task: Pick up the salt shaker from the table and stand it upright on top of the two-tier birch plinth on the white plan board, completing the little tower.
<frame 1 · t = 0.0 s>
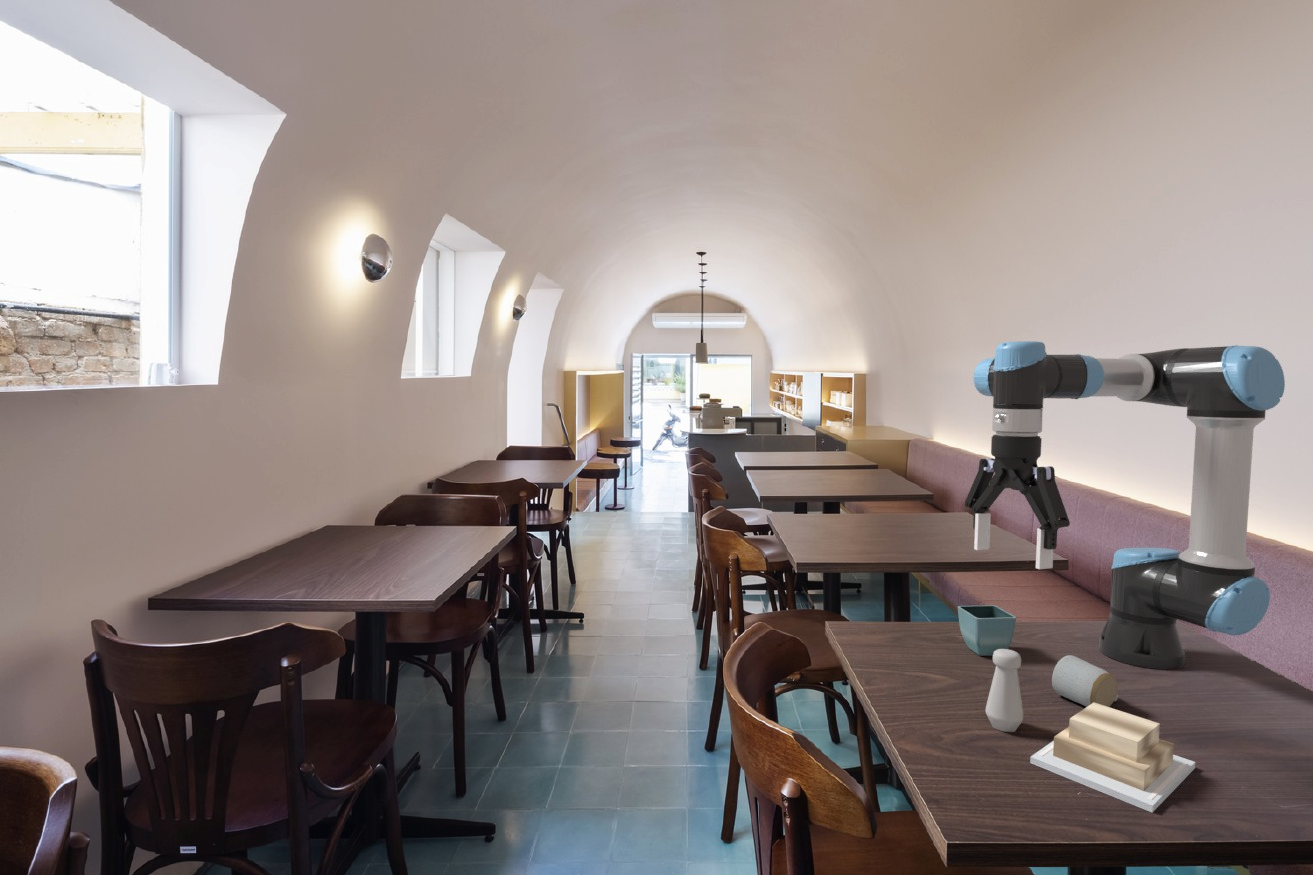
hand: (1011, 558, 122), 28 cm above the table, tool pointing down, fingers open, 13 cm apart
plan board: (1112, 765, 108), on the table
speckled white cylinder: (1087, 702, 130), on the table
salt shaker: (1003, 727, 120), on the table
flower pot: (984, 652, 154), on the table
birch plinth: (1113, 740, 108), on the plan board, point 4 cm above the table
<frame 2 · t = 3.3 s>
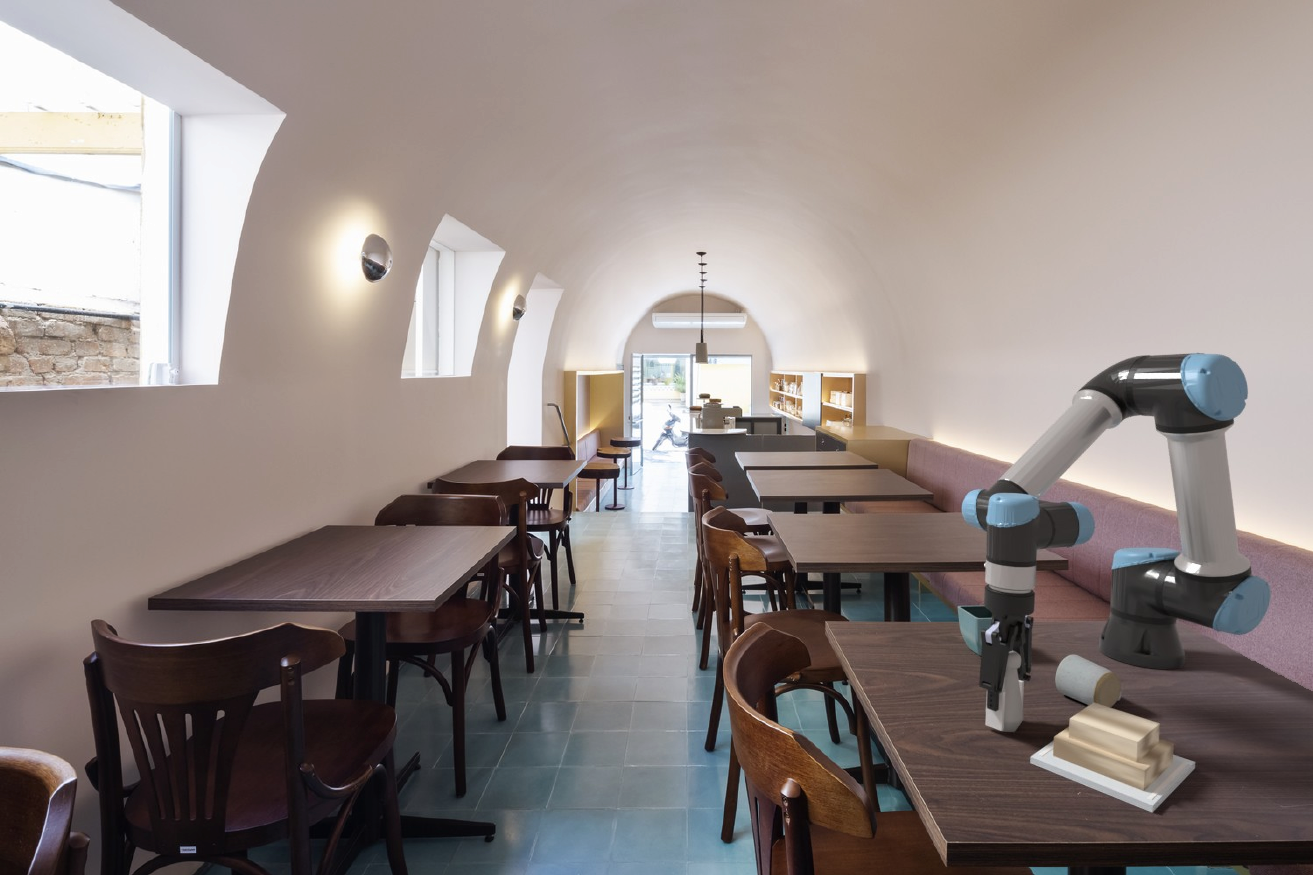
hand: (1004, 721, 120), 1 cm above the table, tool pointing down, fingers closed on salt shaker, 6 cm apart
salt shaker: (1003, 727, 120), on the table, touching gripper
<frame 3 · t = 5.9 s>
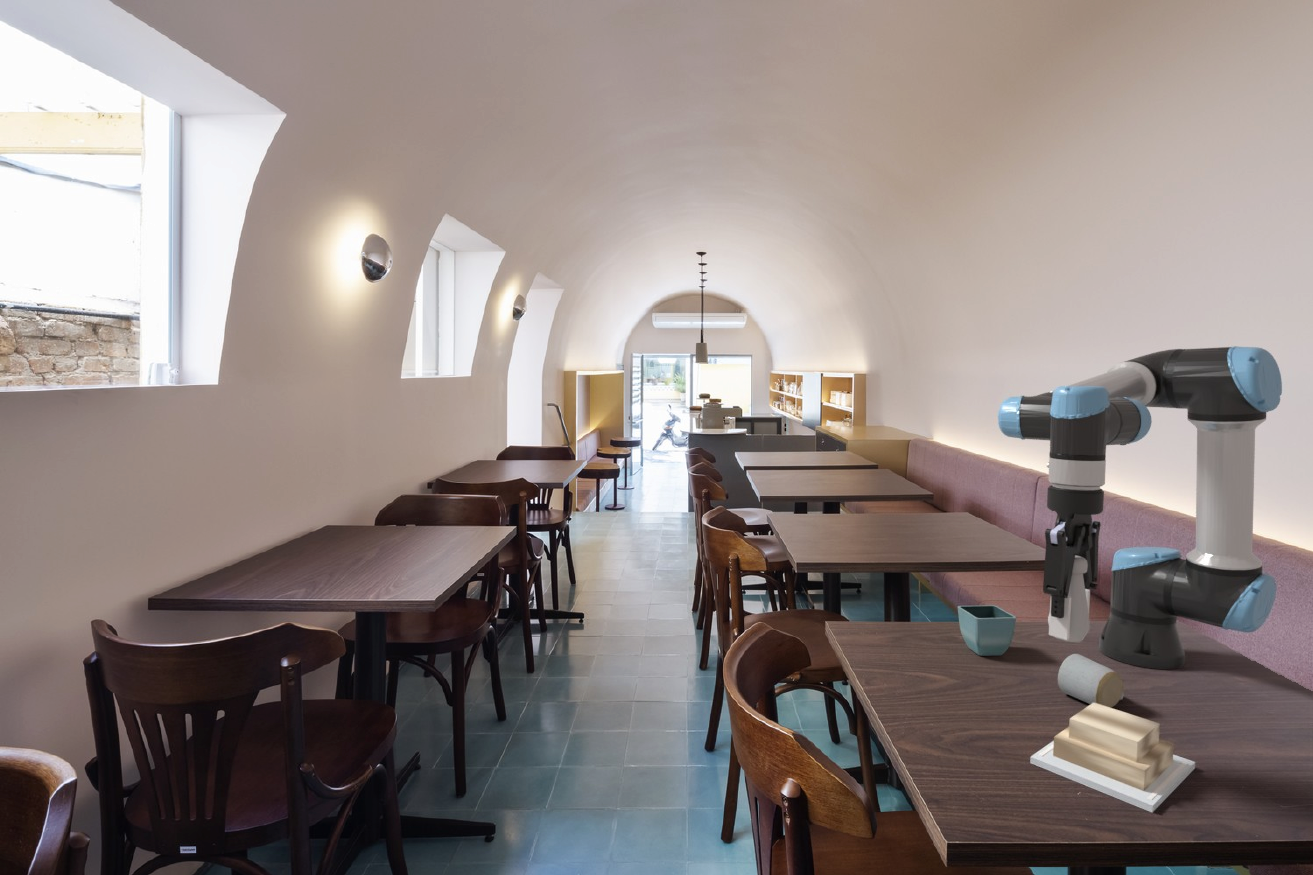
hand: (1068, 632, 112), 19 cm above the table, tool pointing down, fingers closed on salt shaker, 6 cm apart
salt shaker: (1068, 638, 112), point 18 cm above the table, touching gripper
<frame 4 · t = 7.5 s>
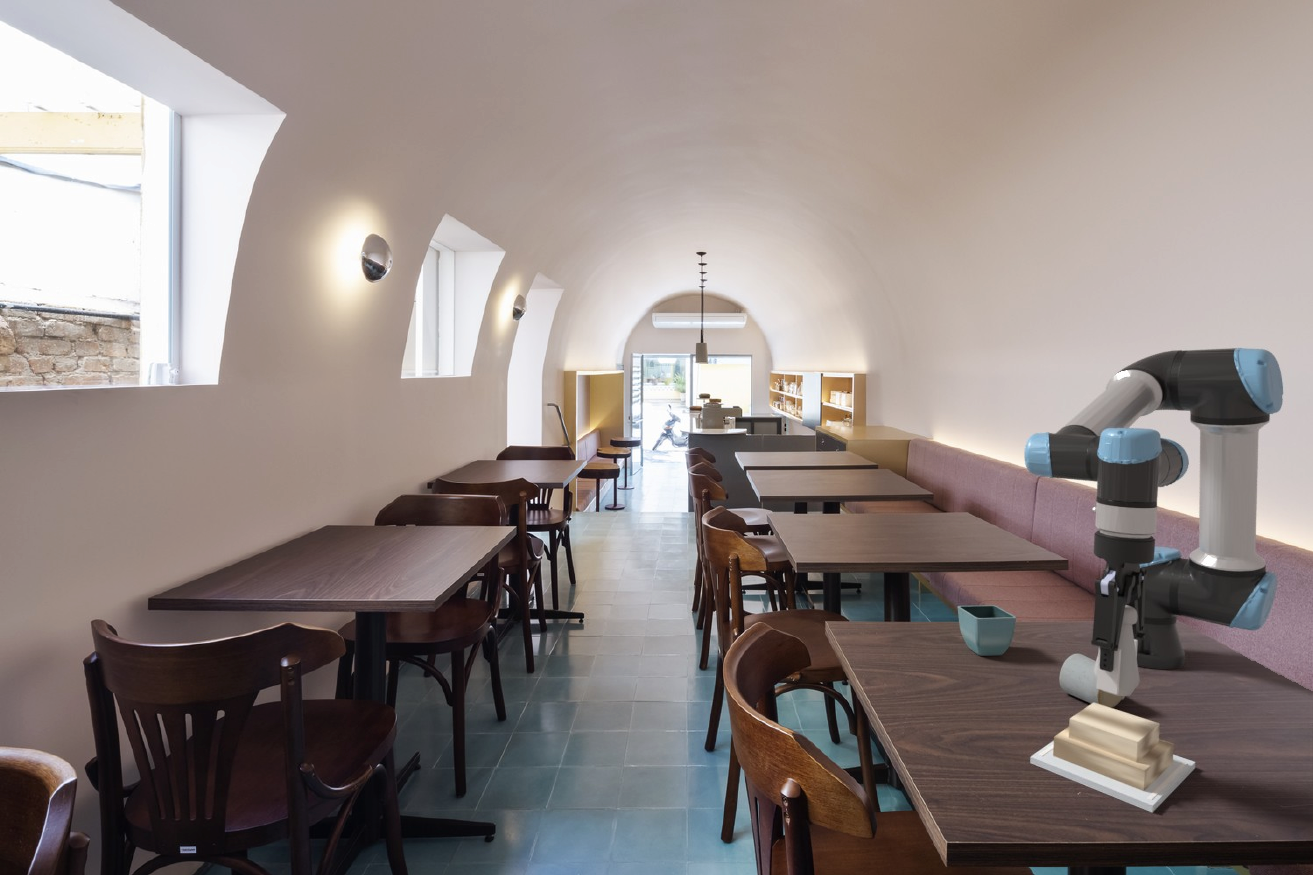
hand: (1116, 684, 107), 13 cm above the table, tool pointing down, fingers closed on salt shaker, 6 cm apart
salt shaker: (1115, 691, 107), point 12 cm above the table, touching gripper
when the fingers open (9 cm above the table, at t = 8.8 s): salt shaker drops 1 cm, resting on birch plinth.
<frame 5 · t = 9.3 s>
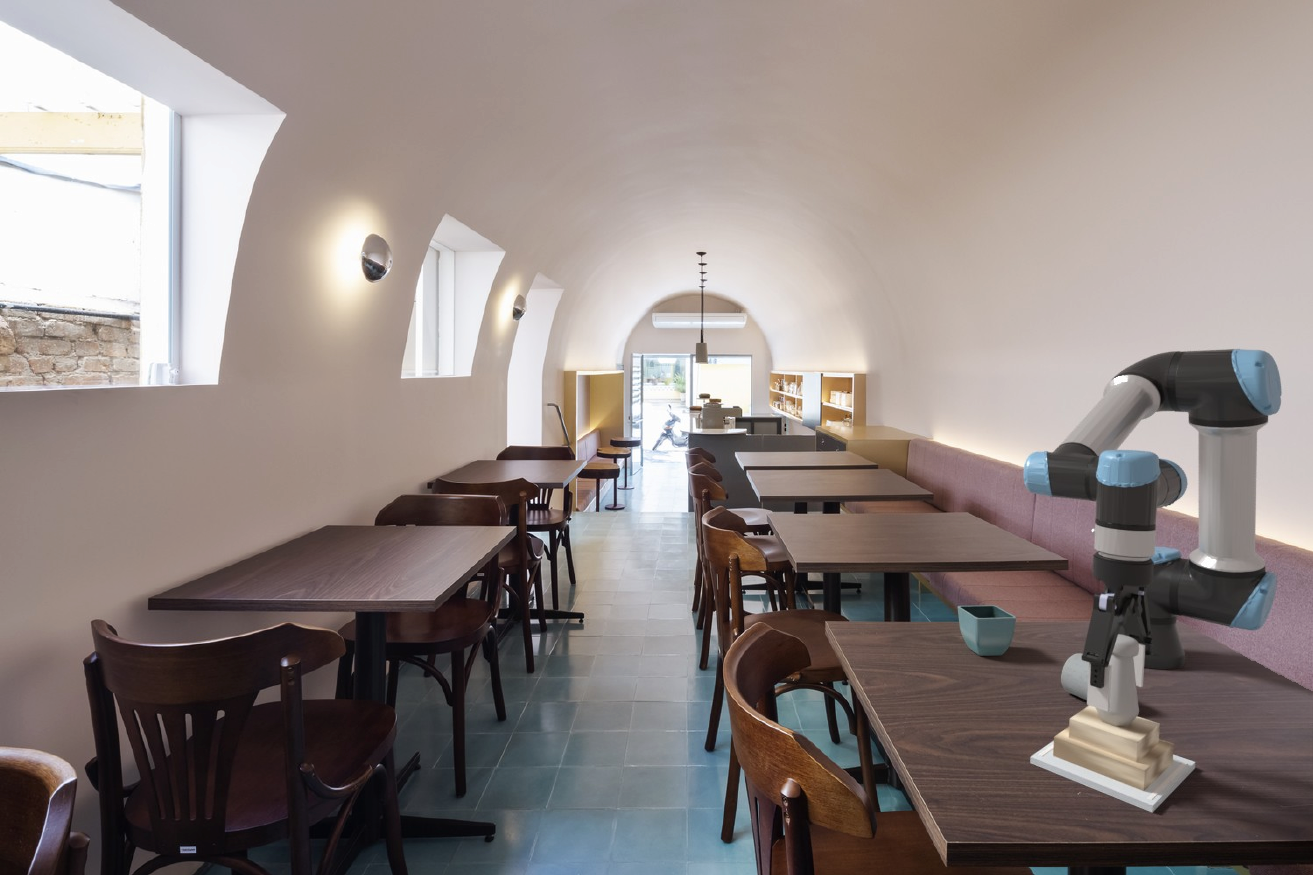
hand: (1115, 695, 107), 11 cm above the table, tool pointing down, fingers open, 12 cm apart
salt shaker: (1114, 721, 108), point 7 cm above the table, touching birch plinth
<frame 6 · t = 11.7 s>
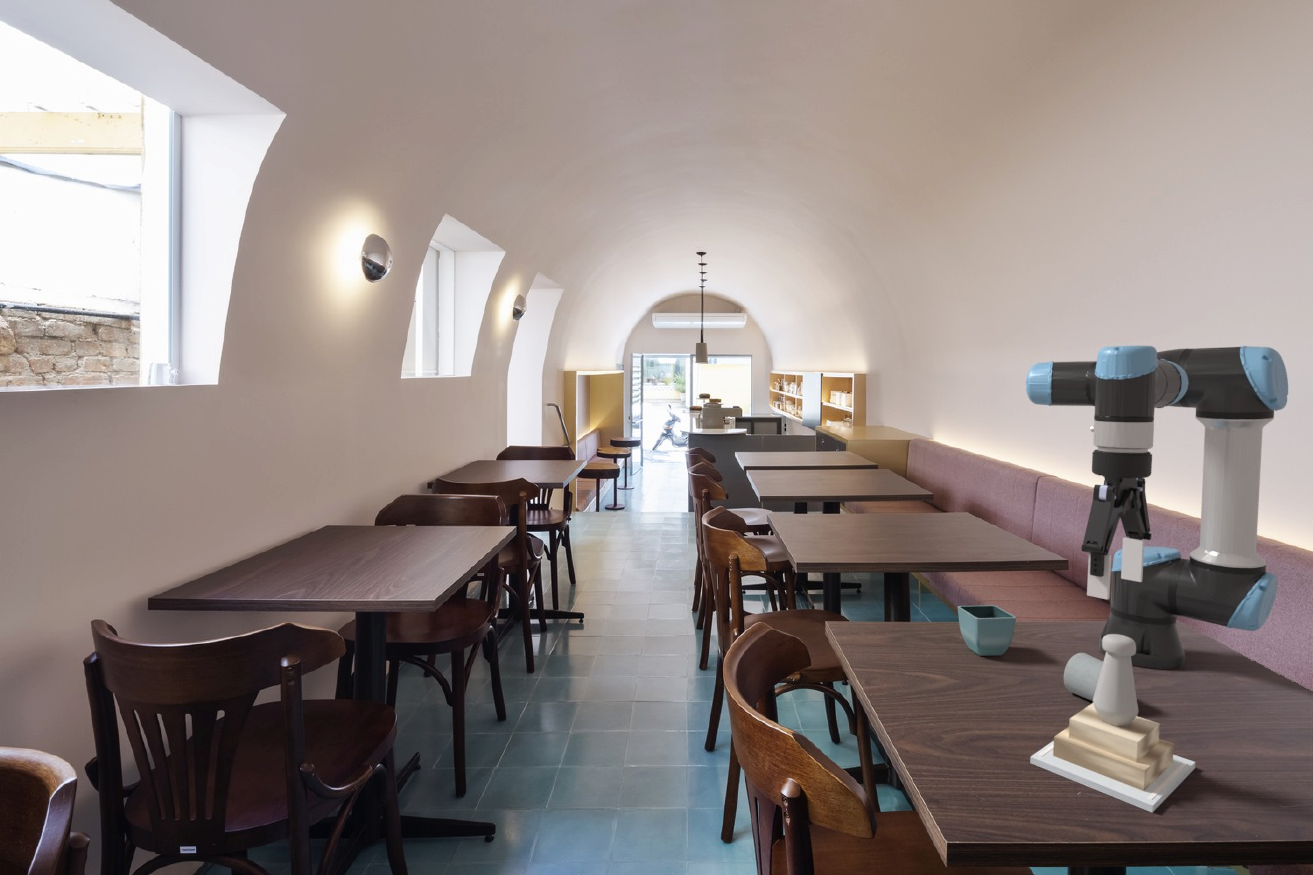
hand: (1115, 588, 109), 27 cm above the table, tool pointing down, fingers open, 13 cm apart
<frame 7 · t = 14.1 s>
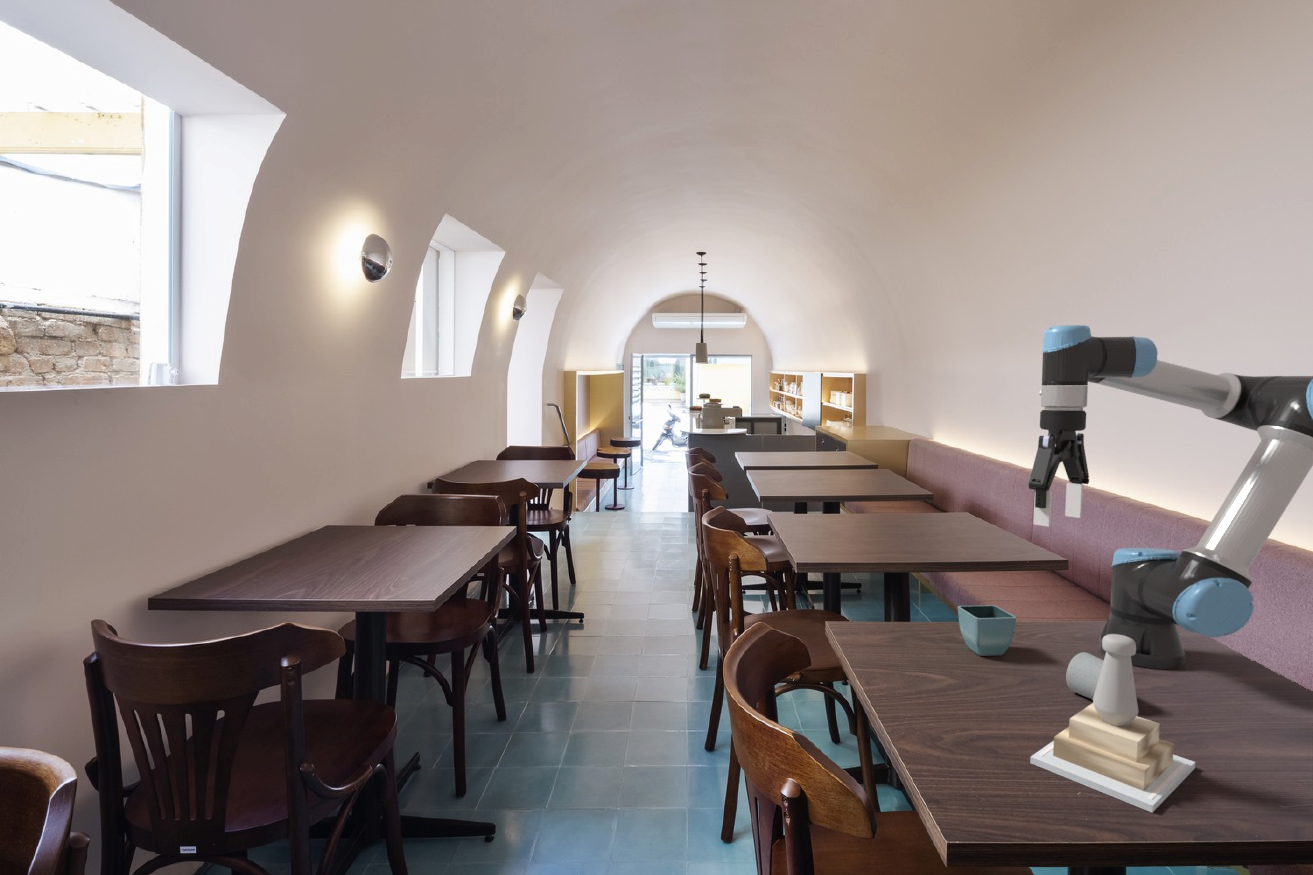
hand: (1058, 521, 135), 32 cm above the table, tool pointing down, fingers open, 13 cm apart
at the end: salt shaker 0.1 cm off-centre on the birch plinth, point 6.8 cm above the birch plinth's base; salt shaker tilted 0°; the gripper is holding nothing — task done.
